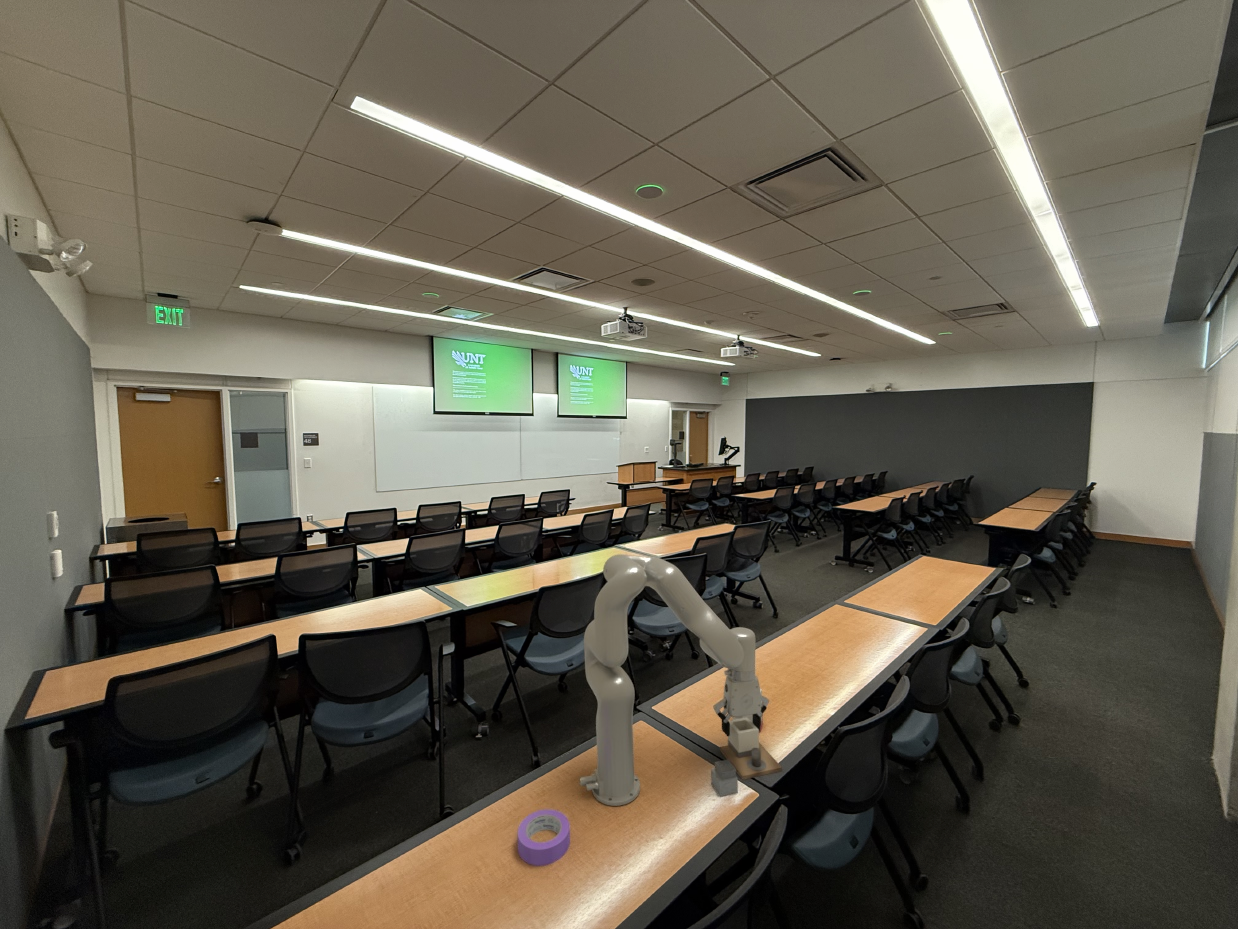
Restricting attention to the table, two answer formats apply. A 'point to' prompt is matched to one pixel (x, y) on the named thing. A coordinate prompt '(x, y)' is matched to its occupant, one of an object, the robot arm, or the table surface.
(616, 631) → the robot arm
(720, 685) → the table surface
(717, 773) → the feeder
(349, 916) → the table surface
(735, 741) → the sleeve
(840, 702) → the table surface
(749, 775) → the board
